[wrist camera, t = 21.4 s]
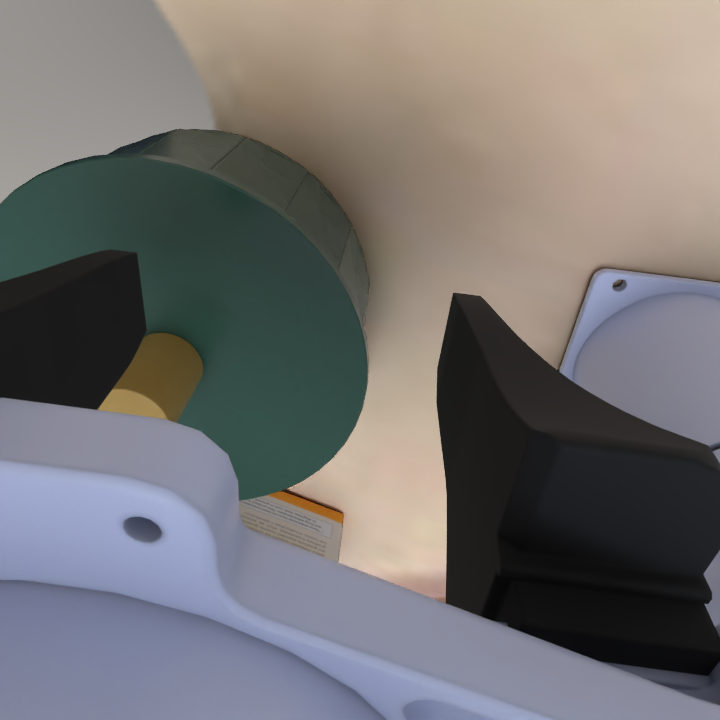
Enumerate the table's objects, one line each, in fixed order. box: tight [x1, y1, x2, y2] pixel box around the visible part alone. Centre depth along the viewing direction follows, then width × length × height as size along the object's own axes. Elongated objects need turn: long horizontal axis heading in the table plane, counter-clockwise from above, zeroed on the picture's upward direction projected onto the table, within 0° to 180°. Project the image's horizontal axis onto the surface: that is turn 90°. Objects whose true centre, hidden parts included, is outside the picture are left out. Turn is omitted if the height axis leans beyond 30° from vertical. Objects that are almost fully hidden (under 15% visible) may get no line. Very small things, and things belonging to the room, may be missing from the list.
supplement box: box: [239, 491, 344, 562], centre depth 27 cm, size 8×5×13 cm, turn 65°
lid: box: [0, 153, 369, 500], centre depth 19 cm, size 14×14×4 cm
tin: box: [108, 129, 370, 326], centre depth 22 cm, size 13×13×6 cm
